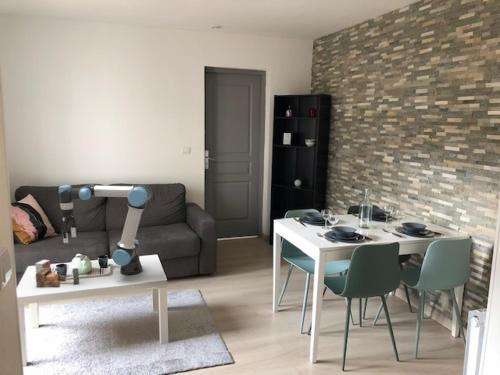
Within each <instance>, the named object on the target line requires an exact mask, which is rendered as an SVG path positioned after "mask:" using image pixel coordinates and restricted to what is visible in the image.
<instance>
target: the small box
mask: <svg viewBox="0 0 500 375" xmlns="http://www.w3.org/2000/svg"><path fill="white" fill-rule="evenodd" d="M34 264H35V274H36V273H38V272H39V271H40V270H42V269H43V268H51V269H52V266H51V260H49V259H42V260H39V261H37V262H35V263H34Z"/></svg>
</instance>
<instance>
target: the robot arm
mask: <svg viewBox="0 0 500 375" xmlns="http://www.w3.org/2000/svg"><path fill="white" fill-rule="evenodd" d="M58 196H59V202H60V203H59V206H60V215H61V216H63V217H62V218H61V228H60V234H61V235H62V238H63V240H62V241H63V243H64V244H68V243H69V237H68V236H69V235H68V227H69V225H70V231H71V232H70V233H71V238H77V230H76V228H77V227H78V226H77V225H78V224H77V221H76V219H75V215H74V202H73V201H81V200H82V201H85V200H89V199H91V197H107V198H108V197H109V198H110V197H113V198H127V201H128V202H127V207H128V212H127V215H126V218H125V222H124V226H123V230H122V234H121V237H120V240H119V241H118V242H117V244H116V248H115V250H114V251H113V252H112V256H111V257H112V260H113V263H114V264H116V265H118V266H120V269H119V272H120V274H121V275H125V276H134V275H137V274H140V273H142V272H143V265H142V262H141V260H140V244H139V242H140V241H139V240H138V239H136V236H137V231H138V228H139V224H140V221H141V216H142V214H143V211H144V210H146V207H147V203H148V201H149V200H151V198H152V197H153V190H152V188H151V186H149V185H148V184H132V185H100V184H99V185H95V184H93V183H91V184H86V185H85V186H81V187H76V188H72V185H70V184H64V185H60V186H59V187H58Z"/></svg>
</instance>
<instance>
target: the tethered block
mask: <svg viewBox="0 0 500 375" xmlns="http://www.w3.org/2000/svg"><path fill="white" fill-rule="evenodd" d="M58 274H59V273H56V272H55V273H54V272H52V273H48V274H47V275H46V276H45V281H58V276H59V275H58ZM72 275H73V276H72V279H73V281H60V284H73V285H79V284H80V279H79V278H80V277H79V268H77V267H75V268H72Z"/></svg>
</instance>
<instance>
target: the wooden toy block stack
mask: <svg viewBox="0 0 500 375" xmlns="http://www.w3.org/2000/svg"><path fill="white" fill-rule="evenodd" d="M48 273H53V272H52V267H51V268H43V269H42V270H40V271H39V272H38V273H36V272H35V283H36V288H60V286H61V283H60V282H67V275H58V281H45V276H46V275H47V274H48Z"/></svg>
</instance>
